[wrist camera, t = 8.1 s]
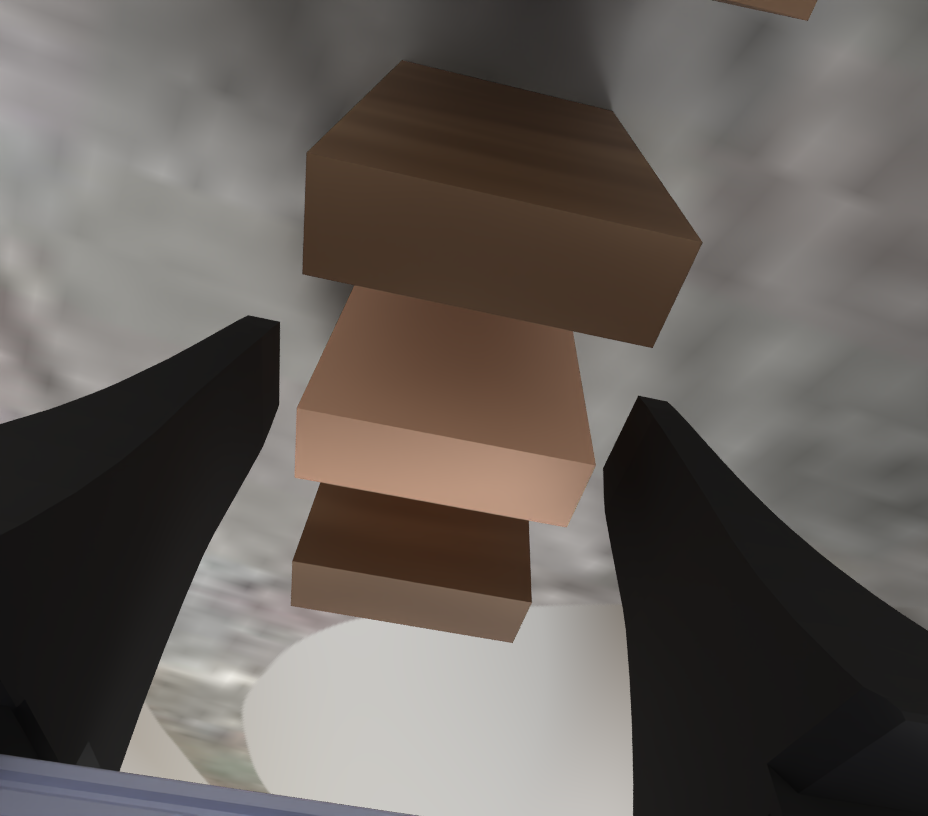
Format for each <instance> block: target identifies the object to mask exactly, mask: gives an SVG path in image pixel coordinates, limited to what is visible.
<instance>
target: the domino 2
mask: <svg viewBox="0 0 928 816" xmlns="http://www.w3.org/2000/svg"><path fill="white" fill-rule="evenodd" d="M595 466H596V464H595V458H594V452H593V446H592V441H591V435H590V429H589V423H588V417H587V412H586V406H585V400H584V394H583V388H582V383H581V377H580V371H579V365H578V359H577V354H576V348H575V342H574V336H573V331H570V330H565V329H560V328H555V327H551V326H546V325H541V324H536V323H532V322H527V321H522V320H517V319H513V318H508V317H503V316H498V315H494V314H489V313H484V312H479V311H475V310H470V309H465V308H461V307H456V306H451V305H446V304H442V303H437V302H432V301H427V300H423V299H418V298H413V297H408V296H404V295H399V294H394V293H389V292H385V291H380V290H375V289H370V288H366V287H361V286H356V285H354V287H353V290H352V292H351V294H350V296H349V298H348V300H347V302H346V304H345V307H344V309H343V311H342V313H341V315H340V317H339V319H338V321H337V324H336V326H335V328H334V330H333V332H332V334H331V336H330V338H329V341H328V343H327V345H326V347H325V349H324V351H323V353H322V356H321V358H320V360H319V362H318V364H317V366H316V368H315V370H314V373H313V375H312V377H311V379H310V381H309V383H308V385H307V387H306V390H305V392H304V394H303V396H302V398H301V400H300V402H299V404H298V407H297V419H296V451H295V478H300V479H306V480H311V481H317V482H322V483H327V484H333V485H338V486H344V487H349V488H355V489H360V490H366V491H371V492H377V493H382V494H387V495H393V496H398V497H404V498H409V499H415V500H420V501H426V502H431V503H436V504H442V505H447V506H453V507H458V508H464V509H469V510H475V511H480V512H486V513H491V514H496V515H502V516H507V517H513V518H518V519H524V520H529V521H535V522H540V523H545V524H551V525H556V526H562V527H567V526H568V524H569V522H570V519H571V517H572V515H573V513H574V511H575V509H576V507H577V505H578V502H579V500H580V498H581V496H582V494H583V492H584V490H585V488H586V485H587V483H588V481H589V479H590V477H591V475H592V473H593V470H594V468H595Z"/></svg>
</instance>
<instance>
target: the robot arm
mask: <svg viewBox="0 0 928 816" xmlns="http://www.w3.org/2000/svg"><path fill="white" fill-rule="evenodd" d="M279 369H280V322H278V321H273V320H268V319H264V318H259V317H254V316H249V315H248V316H246V317H244V318H242V319H240V320H238V321H236V322H234V323H233V324H231V325H229V326H227V327H225V328H224V329H222V330H220V331H218V332H216V333H215V334H213V335H211V336H209V337H208V338H206V339H204V340H202V341H200V342H199V343H197V344H195V345H193V346H191V347H189V348H187V349H186V350H184V351H182V352H180V353H178V354H176V355H175V356H173V357H171V358H169V359H167V360H165V361H163V362H161V363H159V364H157V365H154V366H152V367H150V368H148V369H146V370H144V371H142V372H140V373H138V374H136V375H134V376H132V377H129V378H127V379H125V380H123V381H121V382H119V383H116V384H114V385H112V386H110V387H107V388H105V389H102V390H100V391H97V392H95V393H93V394H90V395H87V396H85V397H82V398H79V399H77V400H74V401H71V402H69V403H66V404H63V405H60V406H58V407H55V408H52V409H49V410H46V411H42V412H39V413H36V414H32V415H29V416H26V417H23V418H19V419H16V420H13V421H9V422H6V423H3V424H0V816H417V815H410V814H404V813H397V812H390V811H383V810H376V809H370V808H363V807H356V806H349V805H342V804H336V803H329V802H322V801H316V800H308V799H302V798H295V797H288V796H281V795H274V794H268V793H261V792H254V791H248V790H241V789H234V788H227V787H220V786H214V785H207V784H200V783H193V782H186V781H180V780H173V779H166V778H159V777H153V776H145V775H139V774H132V773H125V772H119V771H120V768H121V765H122V762H123V760H124V757H125V754H126V751H127V748H128V745H129V743H130V740H131V737H132V734H133V731H134V729H135V725H136V723H137V720H138V717H139V714H140V712H141V709H142V706H143V704H144V701H145V698H146V696H147V693H148V690H149V688H150V685H151V682H152V680H153V677H154V675H155V672H156V669H157V667H158V664H159V661H160V659H161V656H162V653H163V651H164V648H165V646H166V643H167V641H168V638H169V636H170V633H171V631H172V628H173V626H174V624H175V621H176V619H177V616H178V614H179V611H180V609H181V606H182V604H183V601H184V599H185V597H186V594H187V592H188V590H189V587H190V585H191V582H192V580H193V578H194V575H195V573H196V571H197V568H198V566H199V564H200V561H201V559H202V557H203V555H204V553H205V551H206V549H207V547H208V545H209V543H210V541H211V539H212V537H213V535H214V533H215V531H216V529H217V528H218V526H219V524H220V522H221V521H222V519H223V517H224V515H225V514H226V512H227V510H228V508H229V506H230V505H231V503H232V501H233V499H234V498H235V496H236V494H237V492H238V491H239V489H240V487H241V485H242V483H243V482H244V480H245V478H246V476H247V475H248V473H249V471H250V469H251V467H252V466H253V464H254V462H255V460H256V458H257V456H258V455H259V453H260V451H261V449H262V447H263V445H264V443H265V440H266V438H267V435H268V433H269V430H270V428H271V425H272V422H273V420H274V417H275V414H276V412H277V409H278V406H279ZM603 480H604V505H605V515H606V521H607V527H608V532H609V538H610V543H611V549H612V554H613V559H614V564H615V570H616V575H617V580H618V585H619V591H620V596H621V601H622V606H623V612H624V620H625V627H626V637H627V649H628V662H629V676H630V695H631V715H632V744H633V745H632V746H633V784H634V785H633V816H928V631H927V630H926V629H924V628H923V627H921V626H920V625H918V624H916V623H915V622H913V621H912V620H910V619H909V618H907V617H906V616H904V615H902V614H901V613H900V612H898V611H897V610H895V609H894V608H892V607H891V606H889V605H888V604H887V603H885V602H884V601H882V600H881V599H879V598H878V597H876V596H875V595H874V594H872V593H871V592H870V591H868V590H867V589H866V588H864V587H863V586H862V585H860V584H859V583H857V582H856V581H855V580H853V579H852V578H851V577H849V576H848V575H847V574H845V573H844V572H843V571H841V570H840V569H839V568H837V567H836V566H835V565H834V564H832V563H831V562H830V561H829V560H827V559H826V558H825V557H823V556H822V555H821V554H820V553H819V552H817V551H816V550H815V549H814V548H813V547H811V546H810V545H809V544H808V543H807V542H806V541H804V540H803V539H802V538H801V537H800V536H799V535H797V534H796V533H795V532H794V531H793V530H792V529H790V528H789V527H788V526H787V525H786V524H785V523H784V522H783V521H782V520H780V519H779V518H778V517H777V516H776V515H775V514H774V513H773V512H772V511H771V510H770V509H769V508H768V507H767V506H766V505H765V504H764V503H763V502H762V501H761V500H760V499H759V498H758V497H757V496H756V495H755V494H754V493H753V492H751V491H750V490H749V488H748V487H747V486H746V485H745V484H744V483H743V482H742V481H741V480H740V479H739V478H738V477H737V476H736V475H735V474H734V473H733V472H732V471H731V470H730V469H729V468H728V466H727V465H726V464H725V463H724V462H723V461H722V460H721V459H720V458H719V457H718V456H717V454H716V453H715V452H714V451H713V450H712V449H711V448H710V447H709V446H708V444H707V443H706V442H705V441H704V440H703V439H702V438H701V437H700V436H699V434H698V433H697V432H696V431H695V430H694V429H693V428H692V427H691V425H690V424H689V423H688V422H687V421H686V420H685V419H684V418H683V417H682V416H681V415H680V414H679V413H678V412H677V410H676V409H675V408H674V407H672V406H671V405H670V404H669V403H668V402H666V401H661V400H657V399H652V398H647V397H642V396H638V398H637V400H636V402H635V404H634V406H633V408H632V410H631V412H630V414H629V416H628V418H627V420H626V422H625V424H624V426H623V428H622V430H621V433H620V435H619V437H618V439H617V441H616V443H615V445H614V447H613V449H612V451H611V453H610V455H609V457H608V459H607V461H606V463H605V466H604V468H603Z"/></svg>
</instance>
